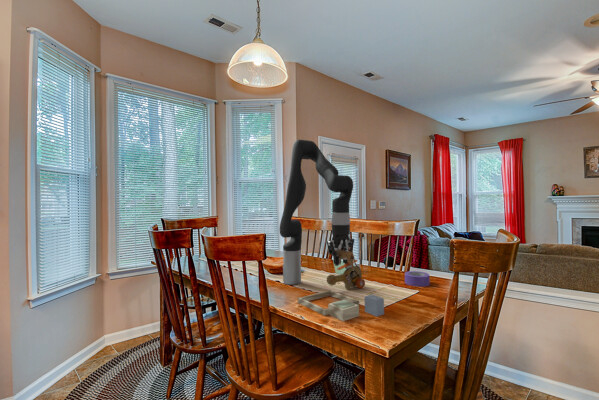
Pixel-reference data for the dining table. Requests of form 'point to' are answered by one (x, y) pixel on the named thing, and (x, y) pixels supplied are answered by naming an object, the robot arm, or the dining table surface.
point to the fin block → (374, 305)
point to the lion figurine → (346, 257)
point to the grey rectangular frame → (333, 305)
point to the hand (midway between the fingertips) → (340, 263)
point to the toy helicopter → (348, 277)
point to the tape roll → (417, 278)
